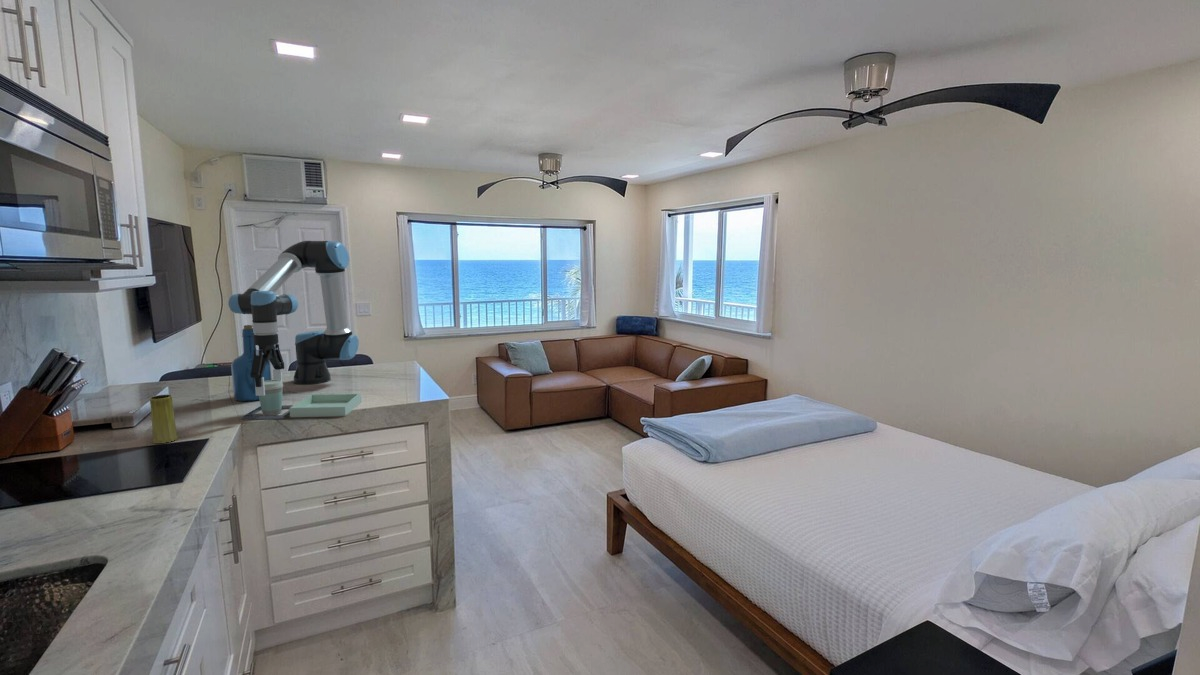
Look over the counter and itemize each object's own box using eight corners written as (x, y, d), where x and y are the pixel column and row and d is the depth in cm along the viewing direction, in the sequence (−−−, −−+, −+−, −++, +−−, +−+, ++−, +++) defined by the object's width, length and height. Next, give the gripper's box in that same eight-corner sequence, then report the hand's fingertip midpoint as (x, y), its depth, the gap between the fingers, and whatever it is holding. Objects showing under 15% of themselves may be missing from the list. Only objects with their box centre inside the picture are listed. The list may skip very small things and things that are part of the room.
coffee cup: (290, 410, 195) (288, 379, 193) (274, 417, 186) (271, 385, 184) (269, 409, 195) (267, 378, 193) (252, 416, 187) (249, 384, 185)
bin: (311, 402, 205) (310, 394, 205) (361, 401, 208) (361, 393, 207) (290, 417, 187) (289, 408, 186) (345, 416, 189) (345, 406, 189)
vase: (182, 439, 163) (177, 395, 161) (159, 445, 157) (154, 400, 155) (171, 436, 166) (167, 393, 163) (148, 442, 160) (143, 397, 158)
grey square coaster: (261, 408, 196) (260, 405, 196) (300, 407, 199) (299, 405, 198) (241, 419, 183) (241, 417, 183) (283, 418, 185) (283, 416, 185)
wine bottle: (273, 399, 209) (267, 326, 204) (233, 404, 201) (226, 328, 197) (272, 391, 220) (266, 322, 215) (234, 395, 212) (227, 324, 208)
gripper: (271, 329, 198) (274, 383, 201) (235, 338, 173) (240, 399, 176) (291, 329, 199) (295, 382, 202) (259, 338, 174) (264, 399, 177)
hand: (269, 390), depth 189 cm, fingers open, 13 cm apart
